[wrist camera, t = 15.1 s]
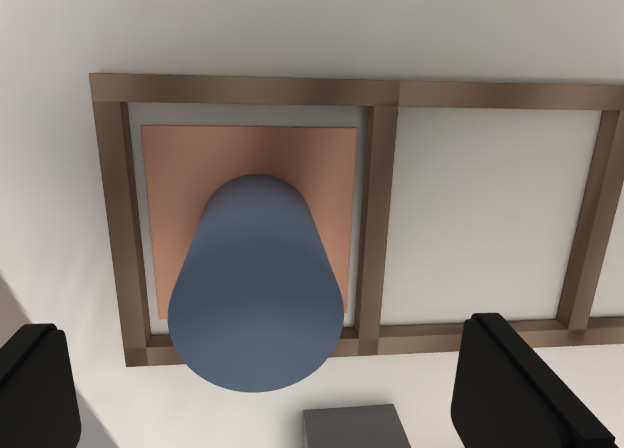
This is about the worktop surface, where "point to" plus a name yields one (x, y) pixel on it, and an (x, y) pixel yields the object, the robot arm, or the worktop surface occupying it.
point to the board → (325, 193)
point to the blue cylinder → (255, 290)
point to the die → (354, 428)
